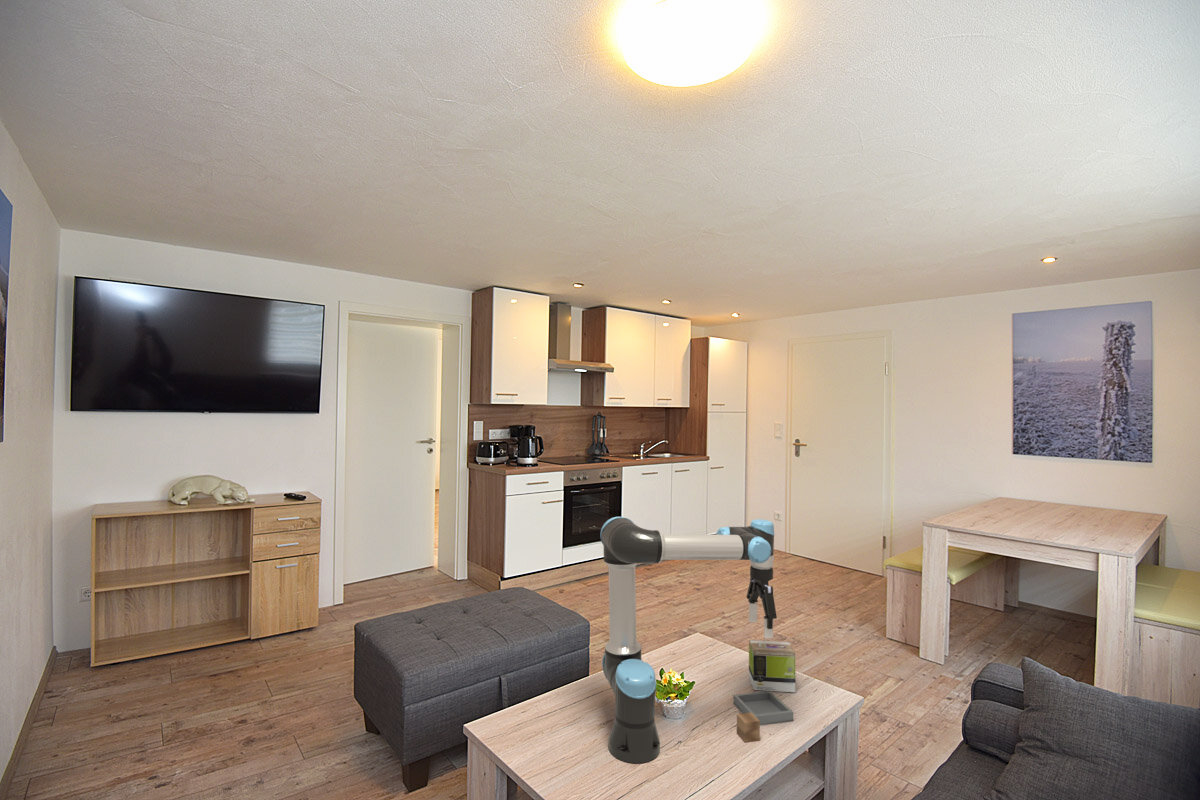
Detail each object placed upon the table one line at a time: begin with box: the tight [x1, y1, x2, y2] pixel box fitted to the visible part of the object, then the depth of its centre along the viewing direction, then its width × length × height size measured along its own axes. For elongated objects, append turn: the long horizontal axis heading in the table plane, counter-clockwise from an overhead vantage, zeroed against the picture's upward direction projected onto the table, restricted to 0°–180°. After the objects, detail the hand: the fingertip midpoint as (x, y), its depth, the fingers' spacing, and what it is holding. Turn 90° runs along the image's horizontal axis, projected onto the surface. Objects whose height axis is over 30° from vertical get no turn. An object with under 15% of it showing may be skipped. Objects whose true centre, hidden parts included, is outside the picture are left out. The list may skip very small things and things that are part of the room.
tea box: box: [748, 639, 797, 693], centre depth 205 cm, size 15×10×15 cm
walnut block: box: [736, 712, 761, 743], centre depth 172 cm, size 5×5×6 cm
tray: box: [732, 690, 794, 726], centre depth 186 cm, size 14×14×3 cm
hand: (760, 629), depth 188 cm, fingers open, 13 cm apart
